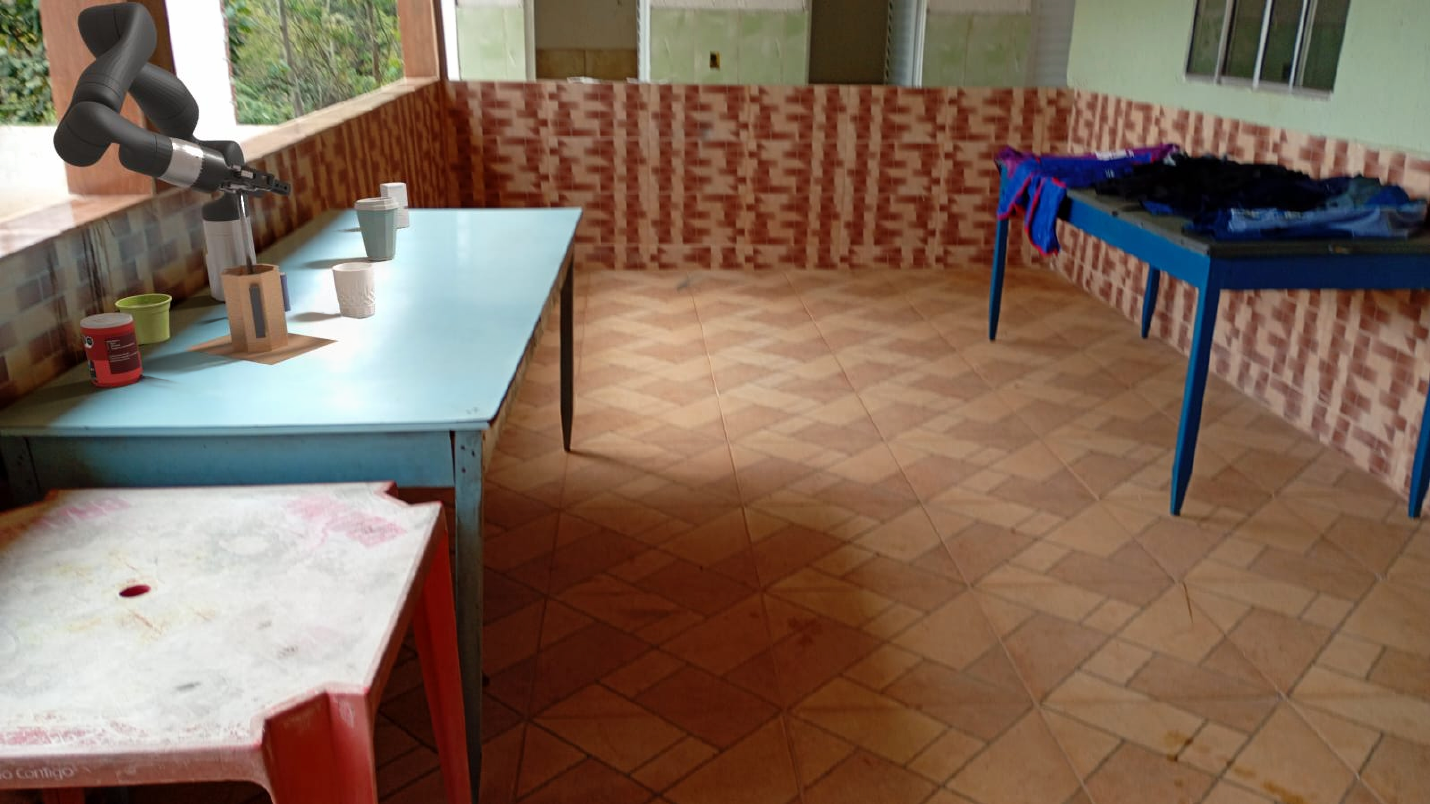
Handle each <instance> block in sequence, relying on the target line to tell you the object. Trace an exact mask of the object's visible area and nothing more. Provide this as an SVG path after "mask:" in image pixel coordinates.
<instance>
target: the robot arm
mask: <svg viewBox="0 0 1430 804" xmlns="http://www.w3.org/2000/svg"><path fill="white" fill-rule="evenodd" d="M77 27H78V31H79V34H80V37H81V40H82V41H83V42H84V45H85V47H86V48H87V49H88V51H89V52H90V54H91V55H92V56H93V57H94V58H95V59H94V60H93V61H92V62H91V63H90V64H89V65H88V66H86V68H85V69H84V70H83V71H82V73H81V74H80V76H79V78H78V80H77V82H76V85H75V87H74V90H73V93H72V98H71V101H70V103H69V106H68V108H67V110H66V111H65V113H64V114H63V116H62V118H61V120H60V122H59V124H58V125H57V128H56V129H55V132H54V134H53V138H52V140H53V141H52V142H53V143H52V144H53V147H54V151H55V152H56V154H57V155H58V156H59V158H60V159H61V160H63V162H65V163H66V164H69V165H70V166H73V167H76V168H77V167H78V168H88V167H90V166H93V165H95V164H97V163H98V162H99V161H101V158H103V156H104V154H105V153H106V152H107V150H108V149H109V148H110V146H111V145H112V144H115V145H118V146H119V147H118V149H117V151H118V152H117V153H118V155H117V157H118V160H119V162H120V165H121V166H122V167H123V168H125V169H126V170H128V171H129V170H130V171H132V172H135V173H138V174H141V175H145V176H148V177H152V178H155V179H157V180H161V181H162V182H166V183H168V184H171V185H173V186H174V185H175V186H177V187H180V188H181V187H182V188H185V189H188V190H192V191H195V192H199V193H202V194H205V195H211V194H214V193H215V192H216V191H220V192H223V195H222V196H220V197H218V198H217V199H215V200H212V201H209V202H206V203H204V204H203V205H202V206H201V211H200V212H201V217H202V218H201V219H202V222H203V223H202V224H203V229H204V236H205V242H206V248H207V253H206V254H205V262H206V268H207V273H208V274H207V275H208V281H209V286H210V293H211V298H214V299H215V300H216V301H220V302H226V301H225V295H224V288H223V282H222V276H221V274H222V271H223V269H227V268H231V267H235V266H239V265H247V264H246V258H245V251H244V244H243V238H242V231H241V224H240V217H239V211H238V204H237V197H236V191H235V190H238V189H243V190H242V196H243V203H244V210H245V216H246V223H247V230H248V237H249V244H250V250H251V257H252V264H257V258H256V257H257V256H256V252H255V244H254V238H253V237H254V236H253V232H252V231H253V230H252V224H251V218H250V211H249V209H250V208H249V197H253V198H255V199H263V198H264V195H265V192H271V193H273V194H277V195H281V196H283V197H289V196H290V195H291V190H292V185H291V183H289V182H285V181H281V180H279V179H275V178H276V175H275V174H274V173H269V172H266V171H262V170H259V169H256V168H253V167H249V166H247V165H246V162H245V156H244V153H243V150H242V147H241V145H240V144H239V143H238V142H237V141H234V140H231V139H230V140H227V139H225V140H224V139H223V140H222V139H221V140H220V139H219V140H217V139H216V140H215V139H214V140H213V139H212V140H206V139H205V140H202V139H198V137H195V135H194V133H195V130H196V127H197V126H198V122H199V118H200V108H199V107H200V106H199V105H198V103H197V101H196V100H197V99H195V97H194V95H193V94H192V93H191V92H190V90H189V88H188V87H187V86H186V84H185V83H184V82H183V81H182V80H181V79H180V78H179V77H178V76H176V75H175V74H173V73H172V72H170V71H169V70H167V69H164V68H162V67H160V66H158V65H155V64H154V63H151V62H149V60H150V58H151V57H152V55H153V54H154V52H155V50H156V47H157V43H158V35H157V34H158V33H157V29H156V25H155V22H154V19H153V17H152V15H151V13H150V12H149V10H148V8H146V7H145V6H144V5H143V4H142V3H139V2H137V1H125V2H124V1H123V2H116V3H115V2H114V3H108V4H101V5H100V4H99V5H94V6H91V7H87V8H84V9H83V10H81V11H80V13H79V15H78V18H77ZM127 94H129V95H130V96H131V98H132V99H133V100H134V102H135V104H137V106H138V107H139V109H140V110H141V112H142V113H143V114H144V115H145V117H146V118H147V119H148V120H149V122H150V123H151V124H152V125H153V126H154V127H155V128H156V129H157V131H158V132H159V133H158V132H154V131H151V130H147V129H144V128H143V127H141V126H139V125H138V124H137V123H136V124H135V123H134V122H132V121H131V120H129V119H127V118H126V117H124V116H123V115H121V112H122V108H123V106H124V103H125V100H126V96H127ZM262 180H264V182H262ZM249 184H250V186H248V185H249ZM229 189H234V190H229Z"/></svg>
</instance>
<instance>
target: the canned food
mask: <svg viewBox="0 0 1430 804" xmlns="http://www.w3.org/2000/svg"><path fill="white" fill-rule="evenodd" d="M79 322H80V324H79V325H80V330H81V335H82V341H83V344H84V345H83V346H84V350H85V354H86V360H87V364H88V369H89V374H90V379H91V381H92V383H93V384H95V385H94V386H97V387H98V386H99V387H100V388H106V387H110V388H120V387H126V386H130V385H133V384H136V383H138V382H140V381H141V380H142V379H143V372H144V371H143V367H142V361H141V355H140V351H139V349H140V348H139V345H138V344H137V338H136V333H135V327H134V323H133V318H132V315H130V314H126V313H121V312H108V313H100V314H93V315H90V316H87V317H85V318H83V319H80V321H79Z"/></svg>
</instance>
